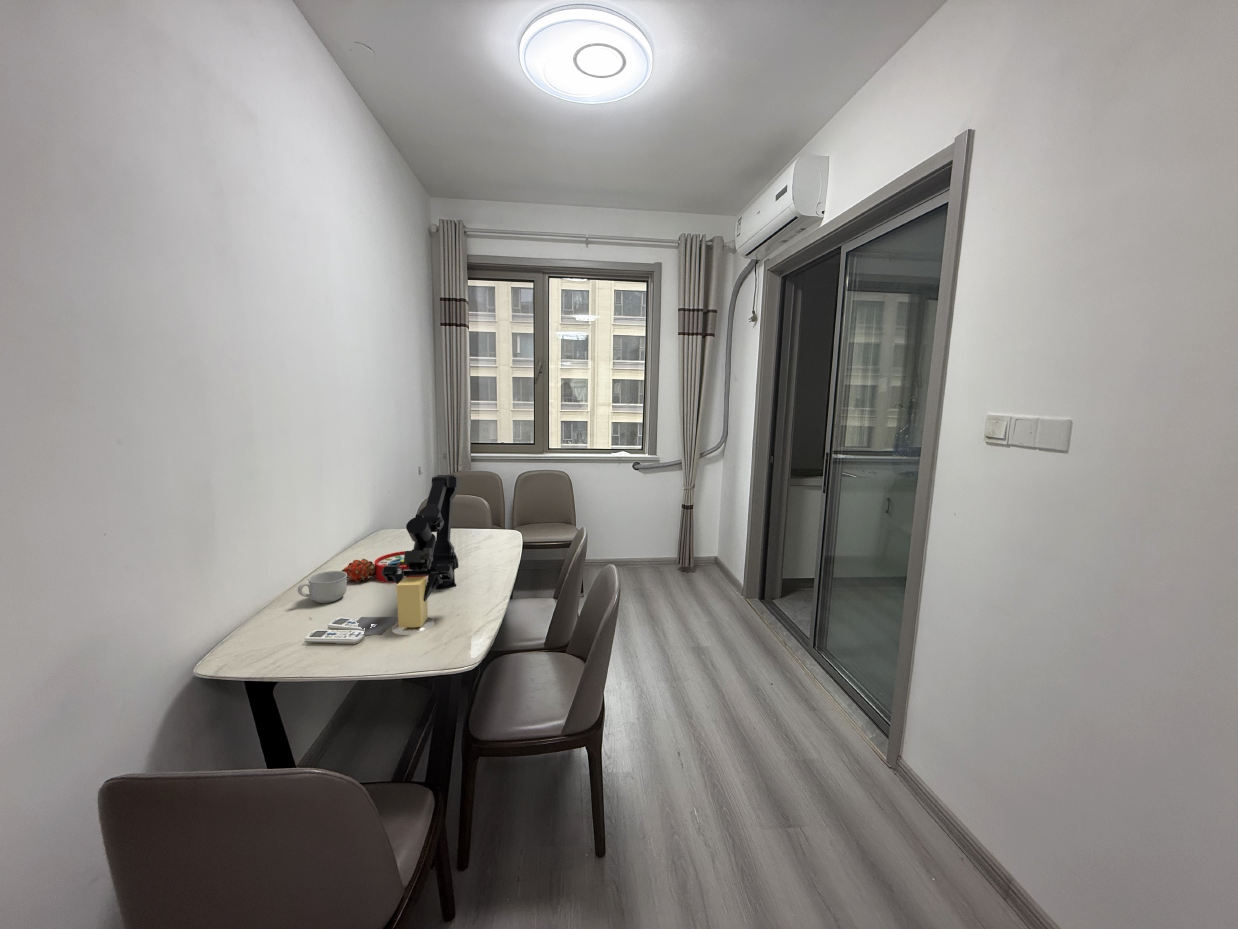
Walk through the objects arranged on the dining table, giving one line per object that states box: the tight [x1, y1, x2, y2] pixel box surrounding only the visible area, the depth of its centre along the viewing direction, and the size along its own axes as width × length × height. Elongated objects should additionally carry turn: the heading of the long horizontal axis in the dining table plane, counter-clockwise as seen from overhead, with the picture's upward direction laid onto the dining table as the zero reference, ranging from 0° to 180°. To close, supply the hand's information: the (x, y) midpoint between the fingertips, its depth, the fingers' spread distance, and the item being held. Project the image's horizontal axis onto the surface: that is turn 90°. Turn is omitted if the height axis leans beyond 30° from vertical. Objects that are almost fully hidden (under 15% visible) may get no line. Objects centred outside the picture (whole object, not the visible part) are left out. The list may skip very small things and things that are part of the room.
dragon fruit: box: [341, 558, 376, 584], centre depth 171 cm, size 8×8×12 cm
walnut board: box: [349, 616, 398, 636], centre depth 134 cm, size 24×16×1 cm, turn 91°
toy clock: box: [373, 550, 427, 584], centre depth 180 cm, size 20×6×20 cm
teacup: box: [297, 570, 348, 604], centre depth 153 cm, size 14×11×8 cm
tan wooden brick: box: [396, 576, 429, 627], centre depth 134 cm, size 6×6×12 cm
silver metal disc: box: [391, 617, 435, 636], centre depth 134 cm, size 11×11×4 cm
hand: (412, 601), depth 134 cm, fingers closed on tan wooden brick, 6 cm apart
